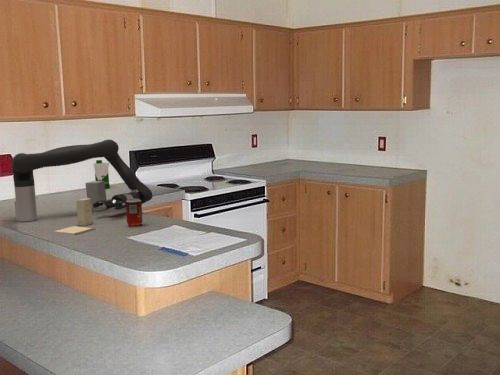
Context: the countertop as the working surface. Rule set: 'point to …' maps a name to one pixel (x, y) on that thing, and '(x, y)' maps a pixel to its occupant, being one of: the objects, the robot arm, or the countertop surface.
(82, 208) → the skincare box
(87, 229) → the notepad
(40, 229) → the countertop surface
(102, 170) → the milk carton
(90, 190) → the skincare box
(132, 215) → the soda can
